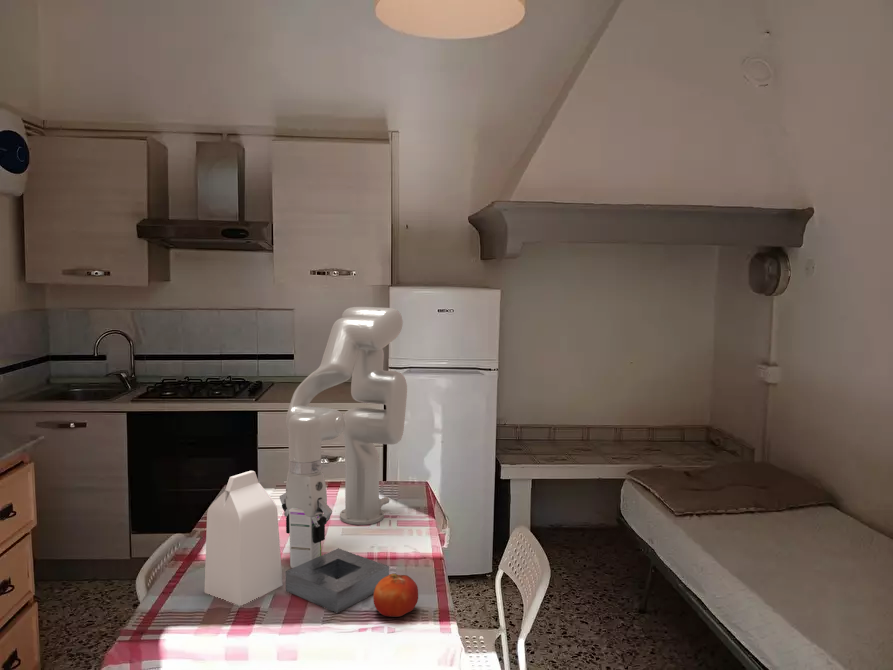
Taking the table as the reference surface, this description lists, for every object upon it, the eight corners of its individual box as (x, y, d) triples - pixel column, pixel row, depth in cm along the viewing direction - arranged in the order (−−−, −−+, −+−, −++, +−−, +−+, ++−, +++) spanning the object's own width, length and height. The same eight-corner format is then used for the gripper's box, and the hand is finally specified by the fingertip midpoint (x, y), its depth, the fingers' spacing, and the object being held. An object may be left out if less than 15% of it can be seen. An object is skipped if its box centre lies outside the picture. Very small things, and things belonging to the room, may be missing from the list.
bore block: (338, 566, 164) (338, 548, 164) (388, 585, 155) (388, 566, 154) (285, 590, 152) (285, 571, 151) (337, 613, 142) (337, 592, 142)
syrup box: (312, 570, 162) (312, 510, 161) (289, 567, 163) (288, 508, 162) (321, 560, 168) (321, 502, 166) (299, 558, 169) (298, 500, 167)
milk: (240, 607, 144) (239, 486, 142) (204, 592, 150) (202, 476, 148) (282, 585, 154) (281, 472, 152) (247, 572, 161) (245, 463, 158)
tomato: (369, 622, 139) (370, 584, 138) (376, 600, 148) (377, 564, 147) (415, 624, 138) (416, 586, 138) (419, 602, 148) (420, 566, 147)
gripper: (342, 469, 161) (342, 540, 162) (292, 456, 171) (293, 523, 173) (318, 476, 155) (318, 550, 156) (268, 462, 165) (269, 532, 167)
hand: (305, 536), depth 165 cm, fingers open, 9 cm apart
